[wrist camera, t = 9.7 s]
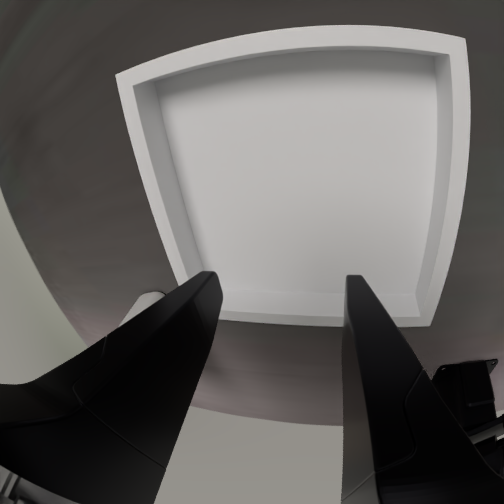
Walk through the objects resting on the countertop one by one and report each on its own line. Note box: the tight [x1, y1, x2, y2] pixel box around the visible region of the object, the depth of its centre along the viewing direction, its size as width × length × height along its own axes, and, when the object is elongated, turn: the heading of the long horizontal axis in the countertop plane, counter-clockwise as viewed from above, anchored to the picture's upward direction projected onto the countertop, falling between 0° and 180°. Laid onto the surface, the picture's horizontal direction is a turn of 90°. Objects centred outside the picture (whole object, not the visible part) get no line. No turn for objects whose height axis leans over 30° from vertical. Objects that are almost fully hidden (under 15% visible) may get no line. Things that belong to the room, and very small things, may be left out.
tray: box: [115, 25, 470, 327], centre depth 12 cm, size 14×14×2 cm
